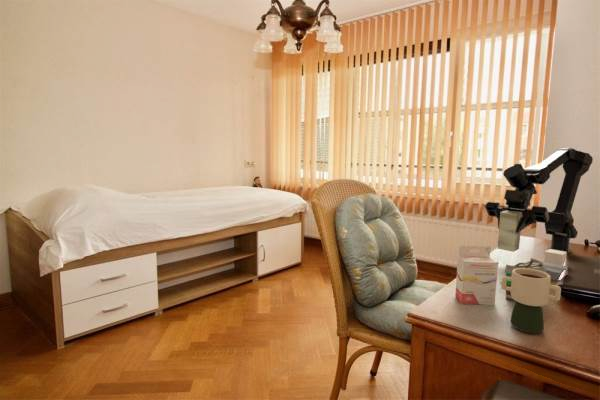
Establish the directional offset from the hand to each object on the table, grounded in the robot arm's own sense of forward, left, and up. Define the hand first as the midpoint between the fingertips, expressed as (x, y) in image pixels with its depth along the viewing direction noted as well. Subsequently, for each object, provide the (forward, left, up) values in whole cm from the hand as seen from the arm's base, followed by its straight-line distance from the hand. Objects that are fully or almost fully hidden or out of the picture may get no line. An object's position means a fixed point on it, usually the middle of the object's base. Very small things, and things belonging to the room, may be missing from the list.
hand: (507, 230), depth 117 cm
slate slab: (-1, +12, -13) cm, 18 cm away
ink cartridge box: (+37, +6, -13) cm, 39 cm away
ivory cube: (-13, +11, -13) cm, 21 cm away
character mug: (+43, +20, -13) cm, 49 cm away
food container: (+26, +15, -13) cm, 32 cm away
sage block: (-1, 0, -7) cm, 7 cm away
